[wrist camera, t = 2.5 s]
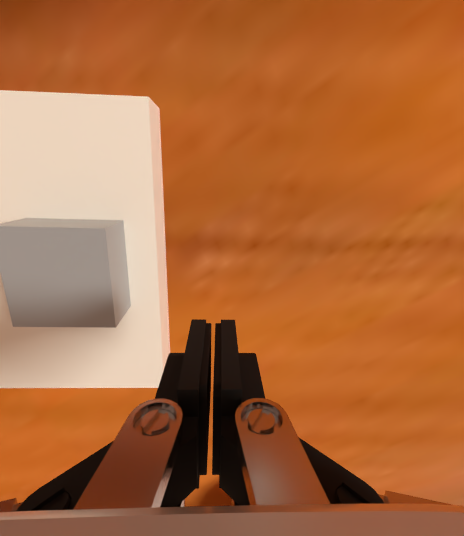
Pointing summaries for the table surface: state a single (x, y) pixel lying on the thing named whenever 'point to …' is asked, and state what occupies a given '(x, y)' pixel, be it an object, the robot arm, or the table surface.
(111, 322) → the grey square block
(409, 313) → the table surface
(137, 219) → the plate
